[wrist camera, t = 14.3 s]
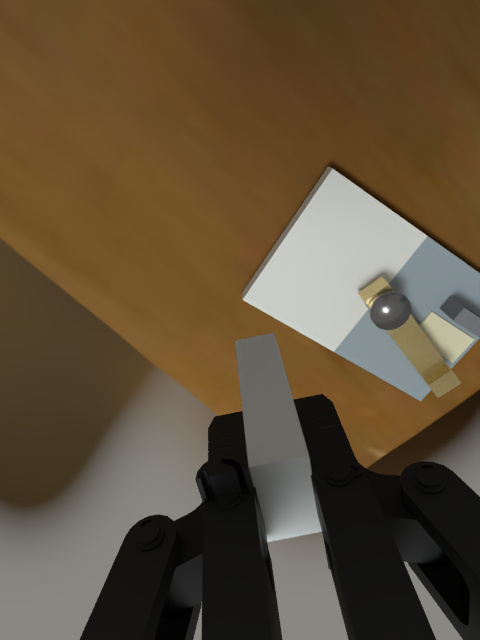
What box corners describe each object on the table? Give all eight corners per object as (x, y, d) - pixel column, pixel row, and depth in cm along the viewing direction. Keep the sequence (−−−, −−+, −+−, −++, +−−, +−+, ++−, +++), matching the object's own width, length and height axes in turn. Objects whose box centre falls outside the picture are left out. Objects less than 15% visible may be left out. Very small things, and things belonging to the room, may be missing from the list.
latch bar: (353, 296, 43) (363, 309, 40) (385, 272, 42) (398, 284, 39) (420, 383, 48) (433, 400, 45) (451, 364, 47) (465, 380, 44)
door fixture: (328, 166, 40) (341, 173, 36) (506, 293, 46) (534, 310, 42) (241, 293, 45) (244, 312, 41) (414, 392, 51) (431, 417, 47)
